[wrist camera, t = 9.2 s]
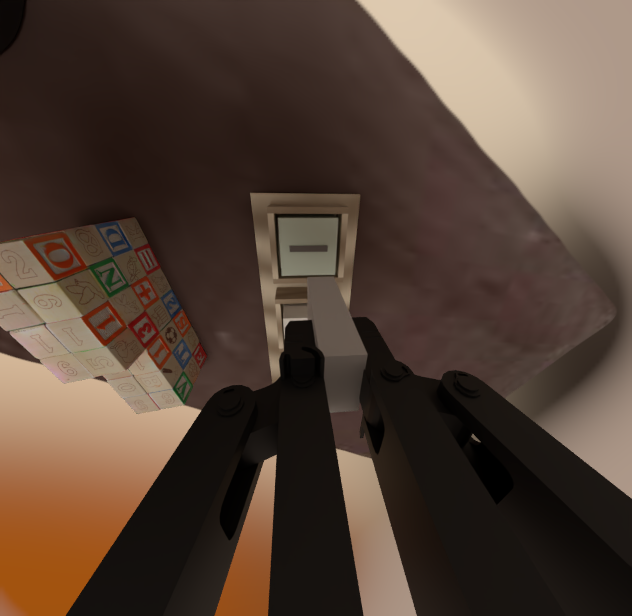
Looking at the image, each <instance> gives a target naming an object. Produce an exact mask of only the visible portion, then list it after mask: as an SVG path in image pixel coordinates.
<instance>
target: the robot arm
mask: <svg viewBox="0 0 632 616" xmlns="http://www.w3.org/2000/svg"><path fill="white" fill-rule="evenodd" d="M23 5H24V0H0V52H1V51H2V50H4V49H5V48H6V47H7V46H8V45H9V44H10V42H11V41H12V40H13V38H14V37H15V35H16V33H17V31H18V28H19V25H20V22H21V18H22V13H23ZM307 318H308V320H298V321H289V323H288V324H287V326H286V327H285V339H284V351H283V352H282V353H281V355H280V358H279V367H280V377H279V378H278V379H277V380H276V381H275V382H274V383H273V384H271V385H269V386H267V387H265V388H262V389H259V390H256V391H252V390H251V389H250V388H249V387H246V386H242V385H232V386H229V387H226V388H223V389H221V390H220V391H218V392H217V393H215V394H214V395H213V396H212V397H211V398H210V399H209V400H208V402H207V403H206V405H205V406H204V408H203V409H202V411H201V412H200V414H199V415H198V417H197V418H196V420H195V421H194V423H193V424H192V426H191V428H190V429H189V430H188V432H187V433H186V435H185V437H184V438H183V440H182V441H181V442H180V444H179V446H178V447H177V449H176V450H175V452H174V453H173V455H172V456H171V458H170V459H169V461H168V462H167V464H166V465H165V467H164V468H163V470H162V471H161V473H160V474H159V476H158V477H157V479H156V480H155V482H154V483H153V485H152V486H151V488H150V489H149V491H148V492H147V494H146V495H145V497H144V498H143V500H142V501H141V503H140V504H139V506H138V507H137V509H136V510H135V512H134V513H133V515H132V516H131V518H130V519H129V521H128V522H127V524H126V525H125V527H124V528H123V530H122V532H121V533H120V535H119V536H118V537H117V539H116V541H115V542H114V544H113V545H112V547H111V548H110V550H109V551H108V553H107V554H106V556H105V557H104V559H103V560H102V562H101V563H100V565H99V566H98V568H97V569H96V571H95V572H94V574H93V575H92V577H91V578H90V580H89V581H88V583H87V584H86V586H85V587H84V589H83V590H82V592H81V593H80V595H79V596H78V598H77V599H76V601H75V602H74V604H73V606H72V607H71V608H70V610H69V611H68V613H67V614H66V616H214V615H215V612H216V609H217V606H218V603H219V600H220V597H221V593H222V590H223V587H224V584H225V581H226V578H227V575H228V571H229V568H230V565H231V562H232V559H233V556H234V553H235V549H236V546H237V543H238V540H239V537H240V534H241V531H242V527H243V525H244V521H245V518H246V515H247V512H248V509H249V506H250V503H251V500H252V496H253V493H254V490H255V487H256V484H257V481H258V478H259V475H260V471H261V468H262V465H263V462H264V460H266V459H268V458H270V457H272V456H274V455H277V459H276V479H275V497H274V498H275V499H274V515H273V535H272V553H271V571H270V590H269V609H268V616H363V610H362V604H361V598H360V592H359V586H358V580H357V574H356V568H355V562H354V556H353V550H352V544H351V538H350V531H349V525H348V519H347V513H346V507H345V501H344V495H343V490H342V484H341V477H340V471H339V466H338V459H337V453H336V447H335V441H334V435H333V429H332V423H331V417H330V413H332V412H345V411H358V409H359V403H361V406H362V410H363V417H362V422H361V427H360V438H363V436H364V432H365V436H366V439H367V443H368V446H369V450H370V453H371V457H372V460H373V463H374V467H375V471H376V474H377V478H378V481H379V485H380V488H381V491H382V495H383V499H384V502H385V505H386V509H387V512H388V516H389V520H390V523H391V527H392V530H393V534H394V537H395V540H396V544H397V547H398V551H399V554H400V558H401V561H402V565H403V568H404V572H405V575H406V579H407V582H408V586H409V589H410V593H411V596H412V600H413V603H414V607H415V610H416V614H417V616H632V499H631V498H630V497H629V496H627V495H626V494H625V493H624V492H622V491H621V490H620V489H618V488H617V487H616V486H615V485H613V484H612V483H611V482H610V481H608V480H607V479H606V478H605V477H603V476H602V475H601V474H599V473H598V472H597V471H596V470H594V469H593V468H592V467H590V466H589V465H588V464H587V463H586V462H584V461H583V460H582V459H580V458H579V457H578V456H577V455H575V454H574V453H573V452H571V451H570V450H569V449H568V448H567V447H565V446H564V445H562V444H561V443H560V442H559V441H558V440H556V439H555V438H554V437H553V436H551V435H550V434H549V433H547V432H546V431H545V430H544V429H542V428H541V427H540V426H539V425H537V424H536V423H535V422H533V421H532V420H531V419H530V418H529V417H527V416H526V415H525V414H523V413H522V412H521V411H519V410H518V409H517V408H516V407H515V406H513V405H512V404H511V403H509V402H508V401H507V400H506V399H504V398H503V397H502V396H501V395H499V394H498V393H497V392H496V391H494V390H493V389H492V388H491V387H489V386H488V385H487V384H485V383H484V382H483V381H481V380H480V379H478V378H477V377H475V376H473V375H471V374H468V373H466V372H462V371H456V370H455V371H448V372H446V373H444V374H443V376H442V379H441V380H436V379H431V378H426V377H421V376H417V375H414V373H413V372H412V371H411V369H410V368H409V367H408V366H406V365H405V364H403V363H402V362H399V361H396V360H395V359H394V357H393V355H392V353H391V352H390V350H389V348H388V346H387V345H386V343H385V341H384V340H383V338H382V336H381V334H380V333H379V332H378V329H377V327H376V326H375V324H374V323H373V322H372V321H371V320H369V319H368V318H367V317H356V318H351V315H350V313H349V311H348V308H347V306H346V304H345V301H344V299H343V297H342V295H341V292H340V290H339V288H338V285H337V283H336V281H335V279H334V277H307ZM472 434H474V435H475V436H476V437H477V438H478V439H479V440H480V441H481V443H480V442H478V441H475V440H474V439H473V438H472V437H471V436H472Z"/></svg>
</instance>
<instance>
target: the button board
mask: <svg viewBox="0 0 632 616" xmlns="http://www.w3.org/2000/svg"><path fill="white" fill-rule="evenodd" d="M250 196H251V204H252V213H253V222H254V230H255V239H256V247H257V256H258V264H259V273H260V281H261V290H262V298H263V307H264V315H265V324H266V333H267V341H268V350H269V358H270V367H271V375H272V384H273V383H274V382H275V381H276V380H277V379H278V378H279V377H280V367H279V358H280V355H281V353H282V352H283V351H284V326H283V312H284V304H294V303H307V277H334V279H335V281H336V283H337V285H338V288H339V290H340V292H341V295H342V297H343V299H344V301H345V304H346V306H347V308H348V311H349V304H350V294H351V284H352V274H353V264H354V254H355V244H356V234H357V224H358V213H359V203H360V194H317V193H250ZM279 214H334V215H335V216H336V217H338V234H337V251H336V268H335V275H297V276H282V272H281V257H280V241H279V226H278V217H279Z"/></svg>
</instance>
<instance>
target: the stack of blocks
mask: <svg viewBox="0 0 632 616" xmlns="http://www.w3.org/2000/svg"><path fill="white" fill-rule="evenodd" d="M0 326H1V327H2V328H3V329H4V330H6V331H10V335H11V336H12V337H14V338H15V339H16V340H17V341H18V342H19V343H20V344H21V345H22V346H23V347H24V348H25V349H27V350H28V351H29V352H30V353H31V354H32V355H33V356H34V357H35V358H37V359H40V362H41V363H42V364H43V365H44V366H45V367H47V368H48V369H49V370H50V371H51V372H52V373H53V374H54V375H55V376H56V377H57V378H58V379H59V380H61V382H63V383H69V382H74V381H79V380H85V379H90V378H94V377H96V376H101V375H103V377H104V378H105V379H106V380H107V382H108V383H109V384H110V385H111V386H112V387H113V388H114V390H115V391H116V392H117V393H118V394H119V395H120V396H121V397H122V398H124V400H125V401H126V402H127V403H128V404H129V406H130V407H131V408H132V409H133V410H134V411H135V412H136V413H137V414H140V413H146V412H151V411H157V410H160V409H166V408H171V407H176V406H182V405H184V404H185V403H186V400H187V398H188V396H189V394H190V392H191V390H192V388H193V384H194V383H195V381H196V379H197V377H198V375H199V373H200V371H201V370H200V369H201V368H202V366H203V364H204V362H205V360H206V358H207V355H206V354H205V352H204V350H203V348H202V346H201V345H200V343H199V339H198V337H197V335H196V333H195V332H194V330H193V328H192V327H191V324H190V322H189V320H188V318H187V316H186V314H185V312H184V310H183V309H182V308H181V305H180V304H179V302H178V300H177V298H176V296H175V294H174V292H173V290H172V289H171V287H170V285H169V283H168V281H167V279H166V277H165V275H164V273H163V272H162V270H161V267H160V265H159V263H158V261H157V259H156V257H155V255H154V253H153V251H152V249H151V247H150V245H149V244H148V241H147V239H146V237H145V235H144V233H143V231H142V229H141V228H140V226H139V224H138V222H137V220H136V218H135V217H132V218H127V219H121V220H116V221H110V222H105V223H100V224H95V225H87V226H81V227H76V228H70V229H66V230H60V231H55V232H49V233H44V234H38V235H32V236H28V237H22V238H18V239H13V240H8V241H3V242H0Z"/></svg>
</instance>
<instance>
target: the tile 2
mask: <svg viewBox="0 0 632 616" xmlns="http://www.w3.org/2000/svg"><path fill="white" fill-rule="evenodd" d="M298 320H308V318H307V303H294V304H284V312H283V326H284V339H285V327H286V326H287V324H288V323H289V321H298Z"/></svg>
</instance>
